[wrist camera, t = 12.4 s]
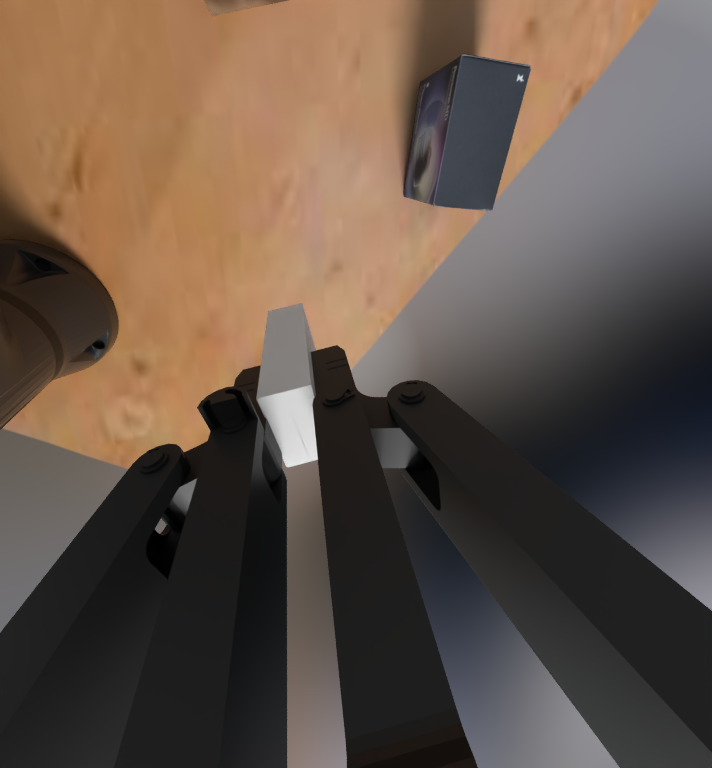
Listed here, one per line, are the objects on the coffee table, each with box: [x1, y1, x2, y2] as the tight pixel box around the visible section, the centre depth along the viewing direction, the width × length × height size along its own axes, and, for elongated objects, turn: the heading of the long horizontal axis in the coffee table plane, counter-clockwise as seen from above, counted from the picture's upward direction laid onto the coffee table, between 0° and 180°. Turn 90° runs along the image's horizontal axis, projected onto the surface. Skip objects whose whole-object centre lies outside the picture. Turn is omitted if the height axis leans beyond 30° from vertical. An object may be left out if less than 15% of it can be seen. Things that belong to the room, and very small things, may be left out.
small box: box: [404, 54, 531, 211], centre depth 33 cm, size 11×6×10 cm, turn 175°
